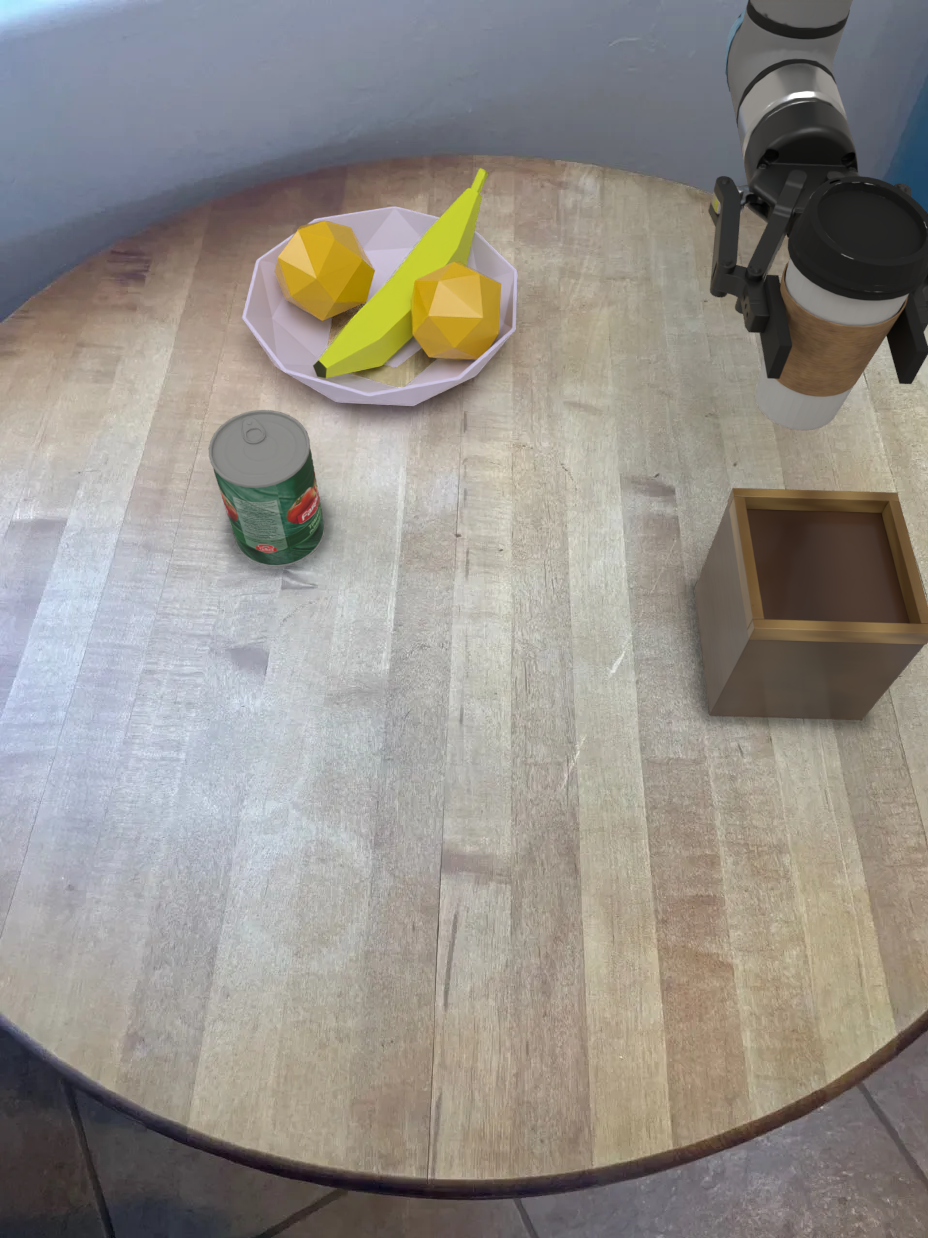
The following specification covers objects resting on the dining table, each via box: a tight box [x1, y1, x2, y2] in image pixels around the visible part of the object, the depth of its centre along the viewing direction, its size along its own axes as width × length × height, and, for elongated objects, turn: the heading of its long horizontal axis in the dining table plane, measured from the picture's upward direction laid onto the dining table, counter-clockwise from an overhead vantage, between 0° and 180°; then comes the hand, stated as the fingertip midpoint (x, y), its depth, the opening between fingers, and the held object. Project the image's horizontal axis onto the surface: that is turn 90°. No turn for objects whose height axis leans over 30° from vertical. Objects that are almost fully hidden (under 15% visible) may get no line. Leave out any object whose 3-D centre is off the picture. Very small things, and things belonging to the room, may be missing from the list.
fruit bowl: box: [241, 167, 518, 407], centre depth 93 cm, size 28×27×11 cm
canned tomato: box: [208, 409, 326, 568], centre depth 80 cm, size 8×8×11 cm
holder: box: [693, 487, 928, 721], centre depth 73 cm, size 12×12×14 cm
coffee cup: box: [754, 175, 928, 432], centre depth 62 cm, size 8×8×15 cm
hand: (846, 364), depth 59 cm, fingers closed on coffee cup, 8 cm apart
